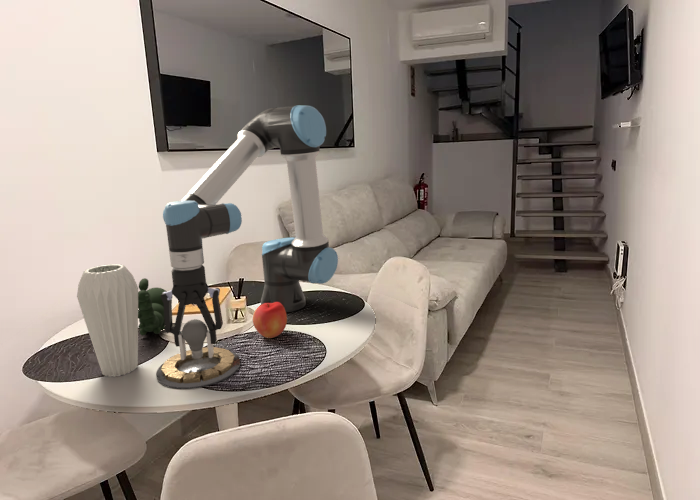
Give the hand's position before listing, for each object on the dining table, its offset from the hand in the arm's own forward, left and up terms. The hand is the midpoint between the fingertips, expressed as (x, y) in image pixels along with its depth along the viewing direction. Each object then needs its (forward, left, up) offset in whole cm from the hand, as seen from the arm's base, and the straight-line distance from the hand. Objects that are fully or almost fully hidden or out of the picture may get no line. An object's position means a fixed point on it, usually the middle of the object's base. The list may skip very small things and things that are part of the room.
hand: (197, 356), depth 118 cm
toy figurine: (-31, -19, -4) cm, 37 cm away
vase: (-3, -20, -3) cm, 20 cm away
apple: (-17, +17, -3) cm, 24 cm away
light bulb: (0, 0, -1) cm, 1 cm away
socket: (0, 0, -3) cm, 3 cm away
